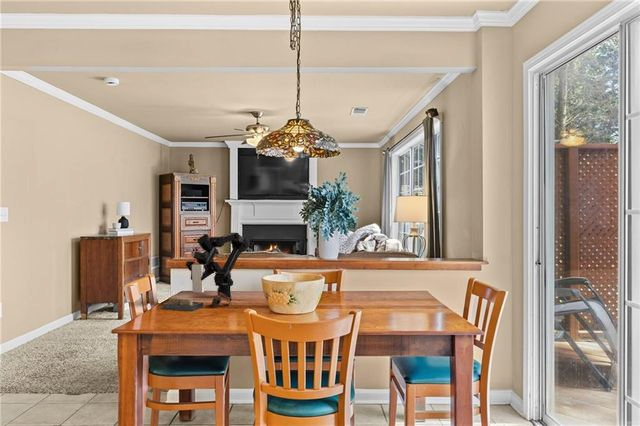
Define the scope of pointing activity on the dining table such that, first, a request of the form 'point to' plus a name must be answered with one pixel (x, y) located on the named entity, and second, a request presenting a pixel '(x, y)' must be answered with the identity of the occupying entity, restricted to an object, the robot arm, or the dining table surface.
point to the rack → (183, 306)
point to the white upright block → (197, 278)
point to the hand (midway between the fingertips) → (196, 279)
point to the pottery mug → (218, 297)
